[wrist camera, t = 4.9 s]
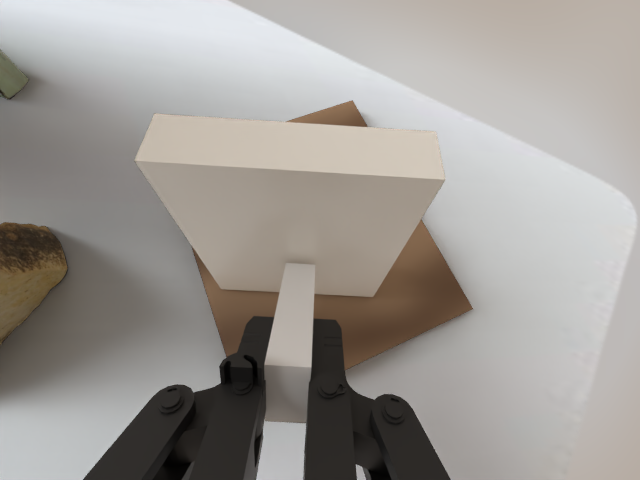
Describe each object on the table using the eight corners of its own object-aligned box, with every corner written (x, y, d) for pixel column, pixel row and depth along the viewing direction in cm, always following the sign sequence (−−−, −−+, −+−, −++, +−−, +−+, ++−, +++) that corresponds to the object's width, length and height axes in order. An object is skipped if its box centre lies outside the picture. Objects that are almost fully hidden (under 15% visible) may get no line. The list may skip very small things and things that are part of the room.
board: (170, 169, 25) (164, 160, 24) (350, 110, 28) (352, 100, 27) (249, 413, 19) (245, 417, 18) (464, 311, 22) (473, 308, 21)
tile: (373, 297, 21) (445, 179, 10) (221, 289, 20) (134, 160, 10) (371, 264, 22) (435, 127, 11) (227, 256, 22) (156, 109, 11)
